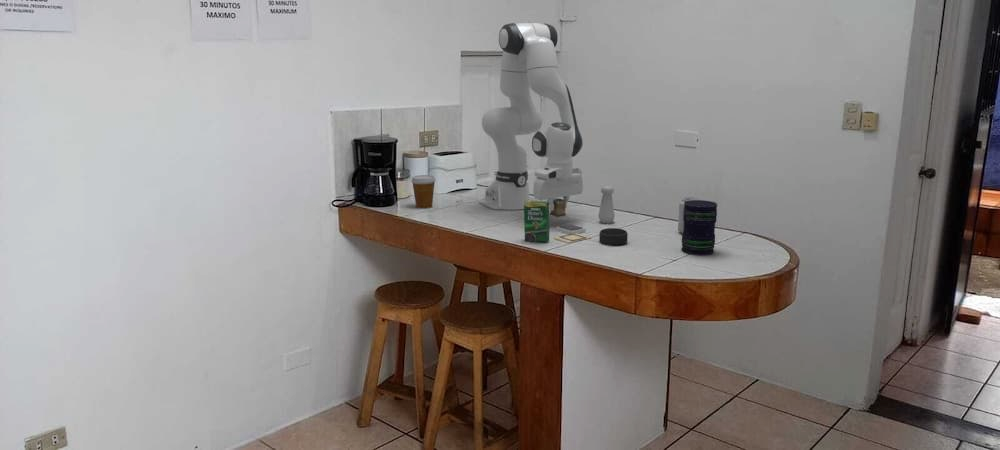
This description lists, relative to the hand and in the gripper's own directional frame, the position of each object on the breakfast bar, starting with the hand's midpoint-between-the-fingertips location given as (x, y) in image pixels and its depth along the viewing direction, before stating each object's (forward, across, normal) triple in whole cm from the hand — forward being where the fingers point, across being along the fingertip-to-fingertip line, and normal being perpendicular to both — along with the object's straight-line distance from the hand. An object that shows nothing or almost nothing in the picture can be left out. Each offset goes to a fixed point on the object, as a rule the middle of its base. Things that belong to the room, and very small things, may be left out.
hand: (557, 209), depth 251 cm
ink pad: (+5, +3, +10) cm, 12 cm away
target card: (+5, +9, +18) cm, 20 cm away
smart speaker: (+5, +2, +29) cm, 30 cm away
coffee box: (+5, +20, +13) cm, 25 cm away
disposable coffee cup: (+8, +22, -54) cm, 59 cm away
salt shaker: (+6, -16, +8) cm, 19 cm away
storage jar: (+4, -12, +52) cm, 54 cm away
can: (+5, -28, +36) cm, 45 cm away
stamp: (+2, 0, 0) cm, 2 cm away
